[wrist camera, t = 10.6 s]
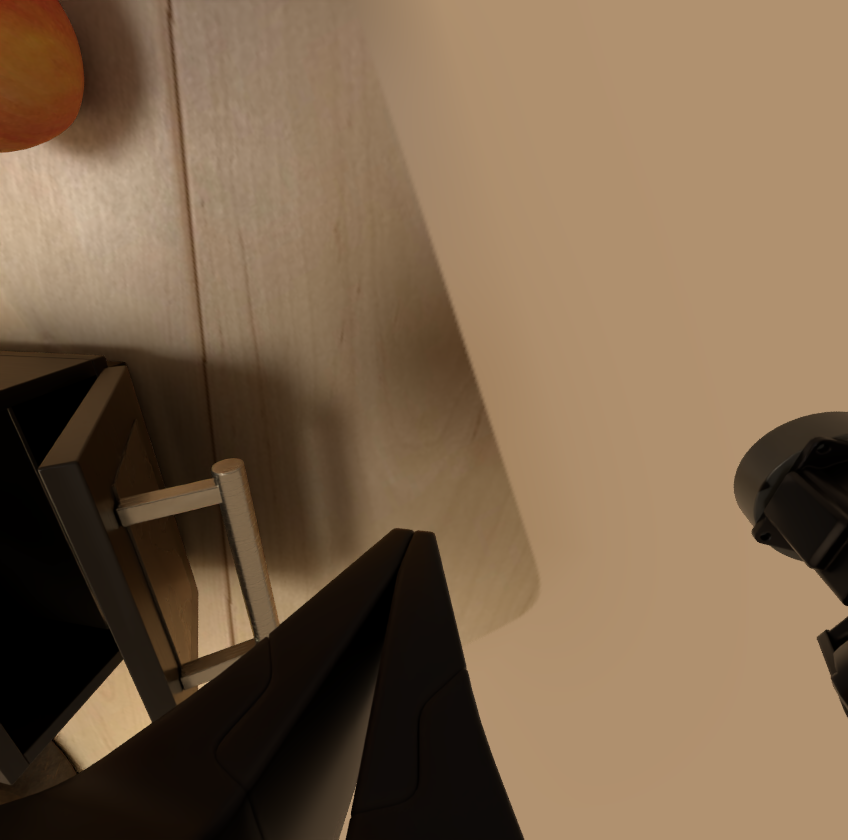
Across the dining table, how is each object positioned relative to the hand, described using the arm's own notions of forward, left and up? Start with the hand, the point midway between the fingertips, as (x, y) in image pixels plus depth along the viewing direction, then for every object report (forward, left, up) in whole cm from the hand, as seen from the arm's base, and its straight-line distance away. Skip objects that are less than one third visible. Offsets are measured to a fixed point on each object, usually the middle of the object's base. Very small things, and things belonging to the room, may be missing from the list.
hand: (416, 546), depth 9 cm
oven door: (+14, +10, -12) cm, 21 cm away
